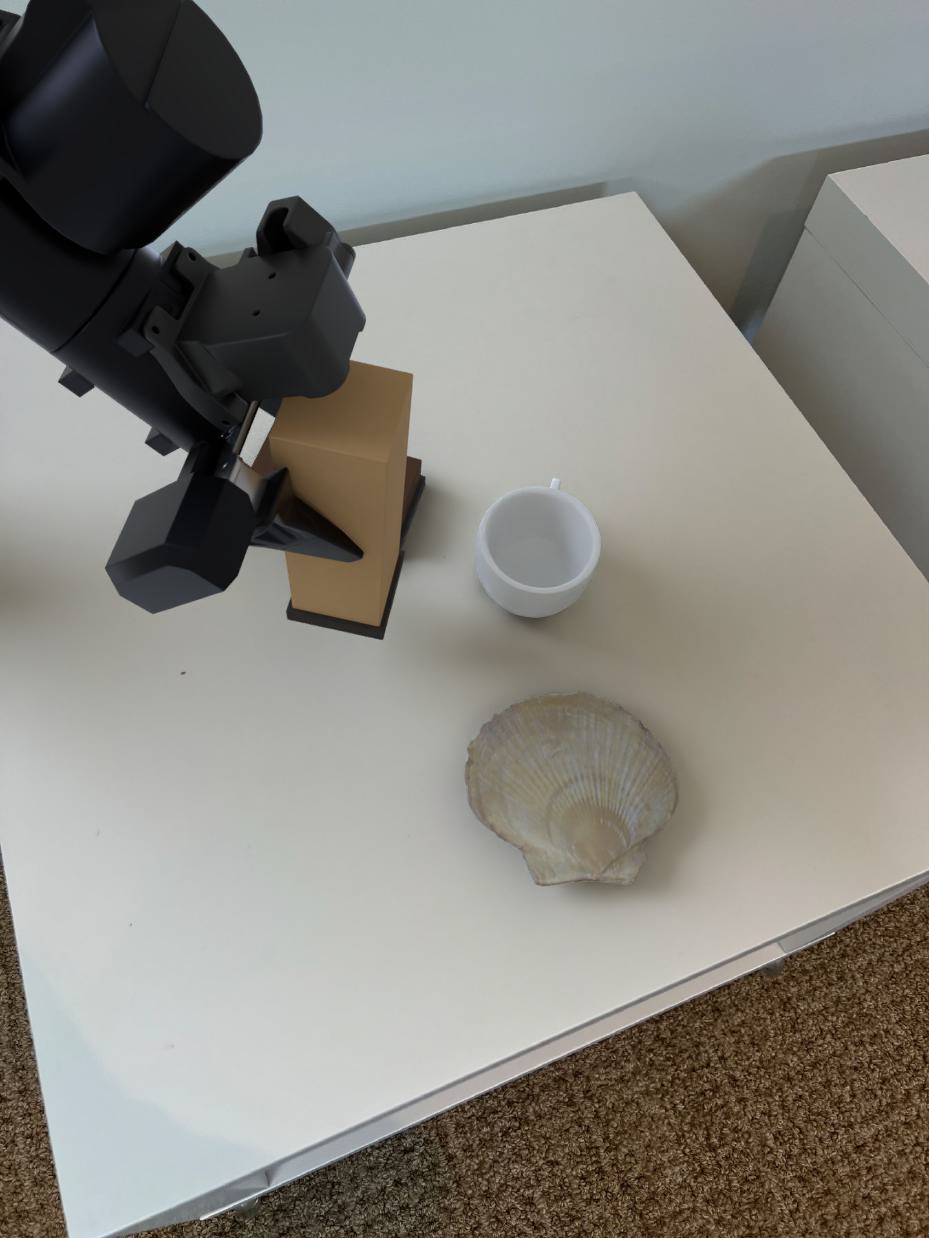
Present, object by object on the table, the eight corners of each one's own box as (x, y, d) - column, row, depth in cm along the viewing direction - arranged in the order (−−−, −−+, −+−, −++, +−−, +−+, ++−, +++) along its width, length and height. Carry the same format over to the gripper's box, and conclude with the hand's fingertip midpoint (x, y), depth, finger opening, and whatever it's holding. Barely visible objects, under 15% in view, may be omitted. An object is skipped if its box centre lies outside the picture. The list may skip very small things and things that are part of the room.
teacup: (570, 647, 56) (588, 608, 51) (456, 615, 56) (463, 573, 51) (600, 524, 60) (619, 478, 56) (495, 495, 61) (504, 447, 56)
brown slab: (241, 515, 58) (234, 488, 56) (277, 443, 61) (272, 414, 59) (397, 559, 58) (397, 535, 55) (425, 484, 61) (427, 457, 58)
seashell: (550, 664, 55) (558, 644, 53) (700, 786, 52) (716, 771, 50) (427, 796, 51) (429, 781, 48) (584, 937, 48) (594, 930, 45)
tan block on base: (383, 640, 49) (393, 470, 35) (286, 619, 49) (258, 440, 35) (404, 559, 52) (421, 369, 38) (312, 539, 52) (296, 341, 38)
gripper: (106, 407, 24) (456, 656, 34) (293, 38, 33) (529, 321, 43) (-50, 508, 31) (278, 690, 41) (138, 182, 40) (371, 396, 50)
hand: (370, 514), depth 43 cm, fingers closed on tan block on base, 5 cm apart
